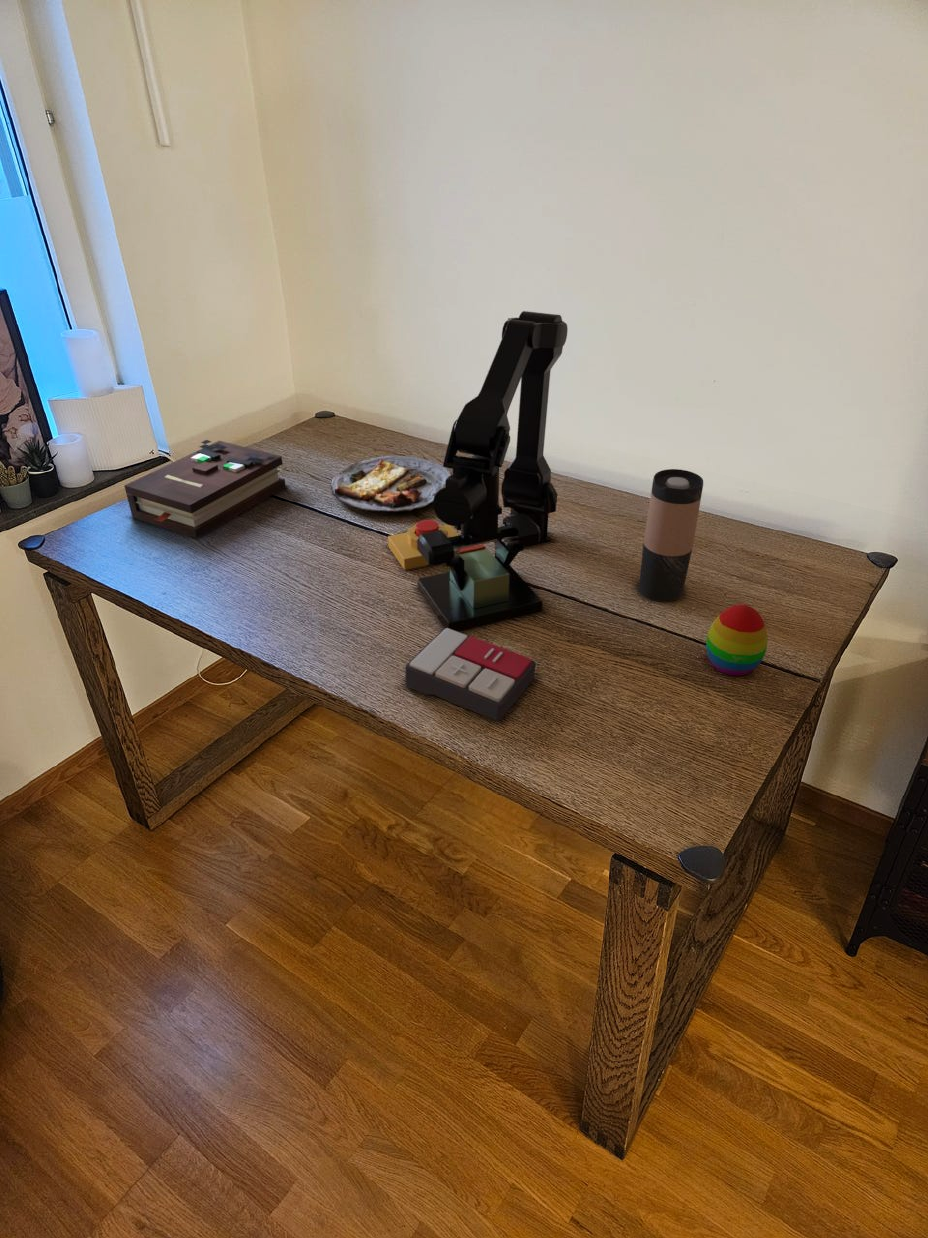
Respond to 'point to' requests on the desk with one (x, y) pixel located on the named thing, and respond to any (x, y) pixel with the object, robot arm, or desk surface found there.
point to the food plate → (390, 483)
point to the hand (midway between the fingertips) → (478, 585)
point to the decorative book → (205, 488)
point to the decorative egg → (737, 640)
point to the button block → (412, 547)
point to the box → (483, 577)
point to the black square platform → (462, 615)
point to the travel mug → (669, 533)
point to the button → (426, 527)
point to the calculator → (470, 673)
